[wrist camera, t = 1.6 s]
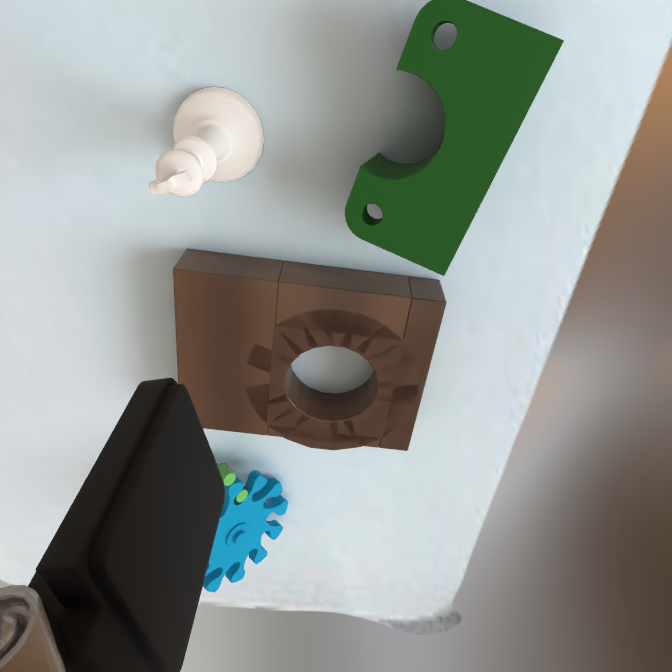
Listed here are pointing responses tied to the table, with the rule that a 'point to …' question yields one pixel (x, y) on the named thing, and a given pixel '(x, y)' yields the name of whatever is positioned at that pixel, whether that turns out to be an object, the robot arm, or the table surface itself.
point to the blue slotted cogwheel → (243, 525)
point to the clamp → (453, 131)
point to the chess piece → (209, 142)
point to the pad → (302, 347)
